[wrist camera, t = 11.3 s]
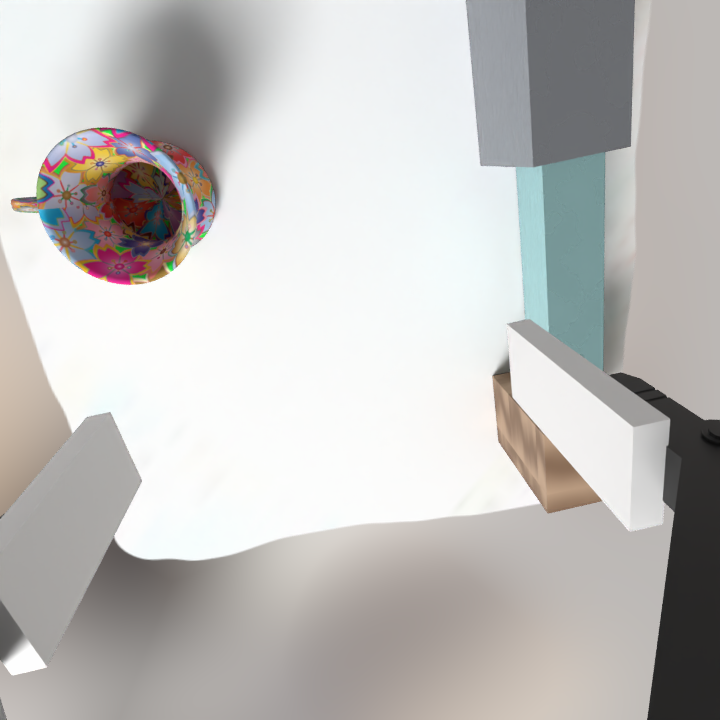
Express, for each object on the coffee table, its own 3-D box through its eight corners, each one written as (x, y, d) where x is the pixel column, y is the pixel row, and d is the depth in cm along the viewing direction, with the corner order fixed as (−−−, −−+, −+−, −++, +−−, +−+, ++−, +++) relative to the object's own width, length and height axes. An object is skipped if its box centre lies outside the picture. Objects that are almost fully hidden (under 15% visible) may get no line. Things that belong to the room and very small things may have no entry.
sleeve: (459, -70, 35) (517, -156, 25) (548, -88, 35) (639, -181, 25) (480, 165, 41) (533, 167, 32) (555, 149, 41) (630, 146, 32)
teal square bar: (500, 123, 36) (534, 116, 31) (575, 107, 36) (622, 98, 31) (522, 437, 47) (550, 472, 42) (580, 424, 47) (614, 457, 42)
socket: (492, 376, 49) (543, 435, 38) (568, 358, 49) (641, 413, 38) (498, 441, 52) (547, 513, 41) (570, 425, 52) (637, 492, 42)
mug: (217, 138, 38) (187, 130, 28) (226, 256, 42) (202, 285, 32) (56, 131, 37) (-33, 121, 27) (79, 254, 40) (7, 284, 31)
